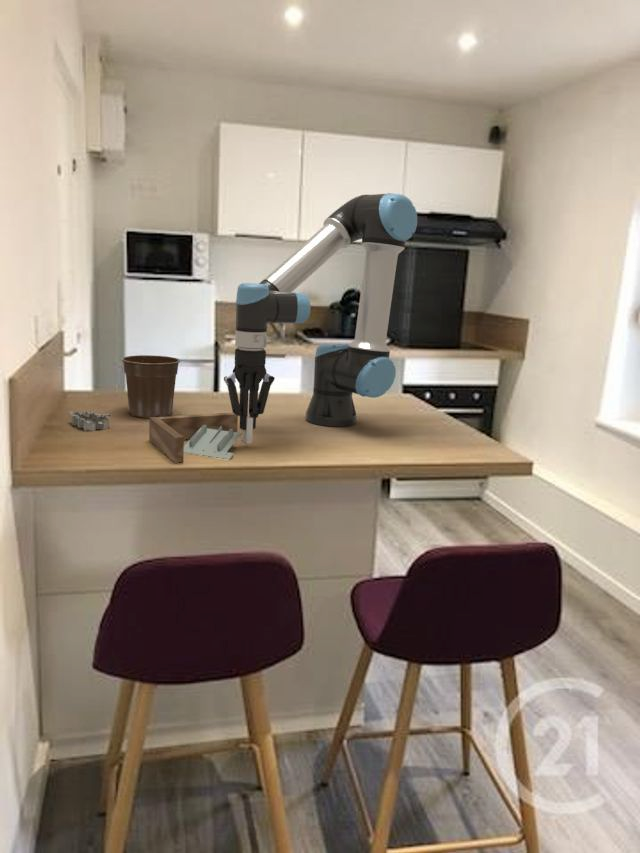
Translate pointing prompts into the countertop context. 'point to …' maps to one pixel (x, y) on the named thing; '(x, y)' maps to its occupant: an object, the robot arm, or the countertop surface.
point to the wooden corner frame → (185, 430)
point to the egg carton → (90, 420)
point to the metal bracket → (212, 442)
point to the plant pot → (150, 384)
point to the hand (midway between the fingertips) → (247, 441)
